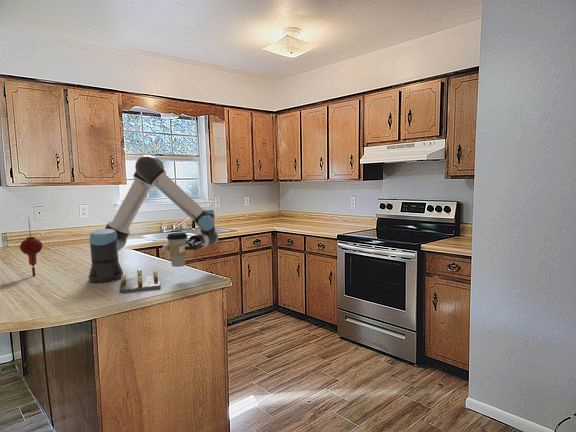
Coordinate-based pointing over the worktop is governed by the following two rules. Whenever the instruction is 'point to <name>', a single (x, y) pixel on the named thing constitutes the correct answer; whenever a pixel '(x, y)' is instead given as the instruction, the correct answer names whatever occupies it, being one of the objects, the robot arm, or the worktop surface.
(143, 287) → the pin plate
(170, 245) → the coffee cup
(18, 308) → the worktop surface
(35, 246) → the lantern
